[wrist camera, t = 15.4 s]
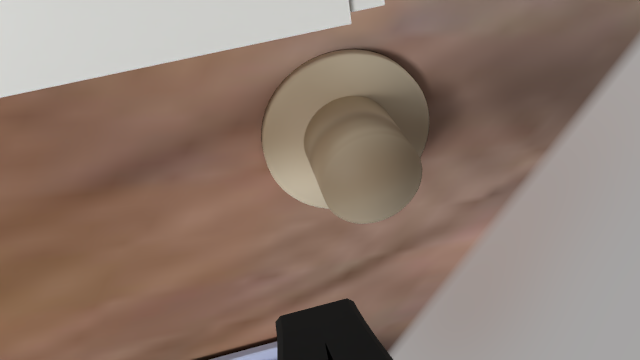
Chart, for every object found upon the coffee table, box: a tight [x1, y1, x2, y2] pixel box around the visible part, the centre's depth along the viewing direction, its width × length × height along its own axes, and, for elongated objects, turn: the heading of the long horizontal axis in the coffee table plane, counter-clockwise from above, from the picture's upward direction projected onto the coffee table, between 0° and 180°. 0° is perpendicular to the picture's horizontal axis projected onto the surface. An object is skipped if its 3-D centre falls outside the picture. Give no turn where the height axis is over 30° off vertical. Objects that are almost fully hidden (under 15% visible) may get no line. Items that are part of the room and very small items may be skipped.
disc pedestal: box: [261, 49, 429, 224], centre depth 18 cm, size 6×6×4 cm
